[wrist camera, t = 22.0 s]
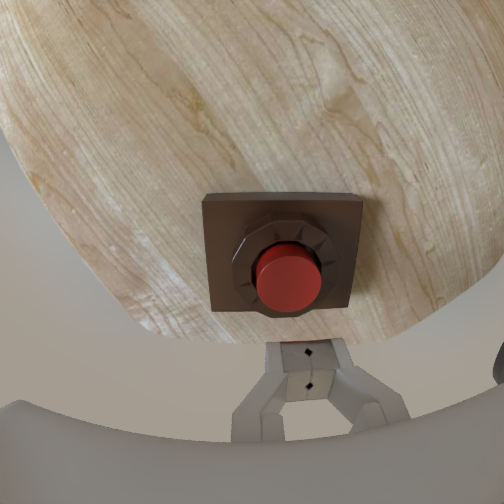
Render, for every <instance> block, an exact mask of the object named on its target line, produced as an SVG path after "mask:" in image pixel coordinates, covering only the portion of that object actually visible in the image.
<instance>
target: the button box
mask: <svg viewBox="0 0 504 504" xmlns="http://www.w3.org/2000/svg"><path fill="white" fill-rule="evenodd" d="M362 207H363V201H362V200H360V199H359V198H357V197H356V196H355V195H353V194H350V193H314V192H252V193H215V194H207V195H206V196H205V198H204V199H203V201H202V215H203V228H204V240H205V252H206V263H207V273H208V283H209V292H210V301H211V310H212V312H244V311H257V312H259V313H261V314H263V315H266V316H268V317H270V318H286V317H299V316H301V315H303V314H305V313H307V312H309V311H311V310H313V309H330V308H346V307H348V304H349V299H350V293H351V288H352V282H353V276H354V270H355V263H356V257H357V250H358V242H359V234H360V226H361V217H362ZM280 244H296V245H299V246H301V247H303V248H305V249H306V250H307V251H308V252H309V253H310V254H311V255H312V257H313V259H314V261H315V263H316V265H317V268H318V270H319V272H320V275H321V288H320V291H319V293H318V295H317V297H316V298H315V299H314V301H313V302H312V303H310V304H309V305H308V306H306V307H304V308H302V309H300V310H297V311H293V312H281V311H276V310H274V309H272V308H270V307H268V306H267V305H266V304H264V303H263V301H262V300H261V299H260V297H259V295H258V292H257V282H256V268H257V264H258V261H259V259H260V258H261V256H262V255H263V254H264V253H265V252H266V251H267V250H269V249H270V248H272V247H274V246H277V245H280Z"/></svg>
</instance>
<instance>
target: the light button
mask: <svg viewBox="0 0 504 504" xmlns="http://www.w3.org/2000/svg"><path fill="white" fill-rule="evenodd" d="M256 282H257V292H258V295H259V297H260V299H261V300H262V301H263V303H264V304H266V305H267V306H268V307H270V308H272V309H274V310H276V311H281V312H293V311H297V310H300V309H302V308H304V307H306V306H308V305H309V304H310V303H312V302H313V301H314V299H315V298H316V297H317V295H318V293H319V291H320V288H321V275H320V272H319V270H318V268H317V265H316V263H315V261H314V259H313V257H312V255H311V254H310V253H309V252H308V251H307V250H306V249H305V248H303V247H301V246H299V245H296V244H280V245H277V246H274V247H272V248H270V249H269V250H267V251H266V252H265V253H264V254H263V255H262V256H261V258H260V259H259V261H258V264H257V268H256Z"/></svg>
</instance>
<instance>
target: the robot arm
mask: <svg viewBox="0 0 504 504" xmlns="http://www.w3.org/2000/svg"><path fill="white" fill-rule="evenodd" d="M265 364H266V365H265V367H266V371H265V372H266V373H265V374H264V375H263V376H262V377H261V379H260V380H259V381H258V383H257V384H256V385H255V386H254V388H253V389H252V390H251V391H250V392H249V394H248V395H247V396H246V398H245V399H244V400H243V401H242V402H241V403H240V405H239V406H238V407H237V408H236V409H235V411H234V412H233V413H232V430H231V443H230V442H228V443H227V442H206V441H192V440H181V439H172V438H164V437H157V436H150V435H144V434H138V433H133V432H127V431H122V430H118V429H113V428H109V427H104V426H101V425H97V424H92V423H89V422H85V421H82V420H78V419H75V418H71V417H68V416H65V415H62V414H59V413H56V412H53V411H50V410H48V409H44V408H42V407H40V406H37V405H34V404H32V403H30V402H27V401H24V400H17V401H14V402H12V403H10V404H8V405H6V406H4V407H2V408H0V504H504V382H503V383H501V384H499V385H497V386H495V387H493V388H491V389H489V390H487V391H485V392H483V393H481V394H478V395H476V396H474V397H471V398H469V399H467V400H464V401H462V402H459V403H457V404H454V405H451V406H449V407H446V408H443V409H441V410H438V411H435V412H432V413H429V414H426V415H423V416H420V417H416V418H413V419H411V418H410V415H409V413H408V411H407V408H406V406H405V404H404V401H403V399H402V397H401V395H400V394H398V393H397V392H395V391H394V390H392V389H391V388H389V387H388V386H386V385H385V384H383V383H382V382H380V381H379V380H377V379H376V378H374V377H373V376H371V375H370V374H369V373H367V372H366V371H364V370H363V369H361V368H360V367H359V366H354V365H353V362H352V359H351V357H350V354H349V352H348V349H347V347H346V344H345V341H344V339H343V338H333V339H323V340H311V341H289V342H280V343H279V342H266V363H265ZM317 399H328V400H329V401H330V402H331V403H332V404H333V405H334V406H335V407H336V408H337V409H338V410H339V411H340V412H341V413H342V414H343V415H344V416H345V417H346V418H347V419H348V420H349V421H350V422H351V423H352V424H353V426H352V428H351V430H350V432H349V434H343V435H338V436H330V437H323V438H316V439H306V440H295V441H285V435H284V428H283V427H284V426H283V418H282V416H281V415H279V413H280V411H281V409H282V408H283V406H284V404H285V402H294V401H304V400H317Z"/></svg>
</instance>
